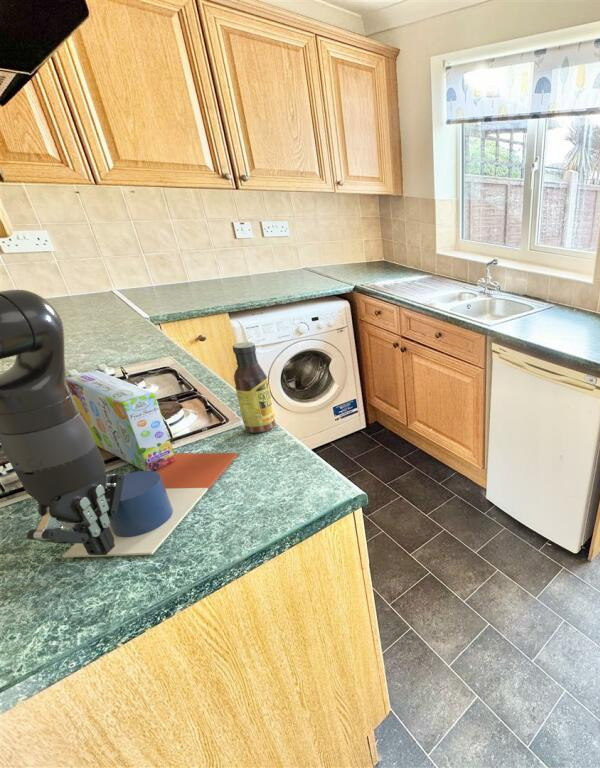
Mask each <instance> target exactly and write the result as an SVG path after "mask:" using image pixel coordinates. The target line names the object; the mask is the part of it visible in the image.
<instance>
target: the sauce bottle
mask: <svg viewBox="0 0 600 768" xmlns="http://www.w3.org/2000/svg"><path fill="white" fill-rule="evenodd" d="M232 350H233V351H232V352H233V353H234V355H235V359H236V365H237V367H236V370H234V373H233V381H234V385H235V392H236V397H237V401H238V405H239V408H240V409H239V410H240V414H241V418H242V419H241V420H242V422H243V425H244V427H245V430H246V431H247V432H248V433H251V434H261V433H265V432H267V431H270V430H272V429H273V428H274V427H275V426H276V416H275V415H276V414H275V410H274V405H273V399H272V395H271V389H270V385H269V379H268V375H266V373H265V371H264V370H263V368H262V366H261V365H260V364H259V361H258V357H257V354H256V353H257V352H256V345H255V343H254V342H250V341H243V342H238V343H235V344H233V345H232ZM272 419H273V420H272Z"/></svg>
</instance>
